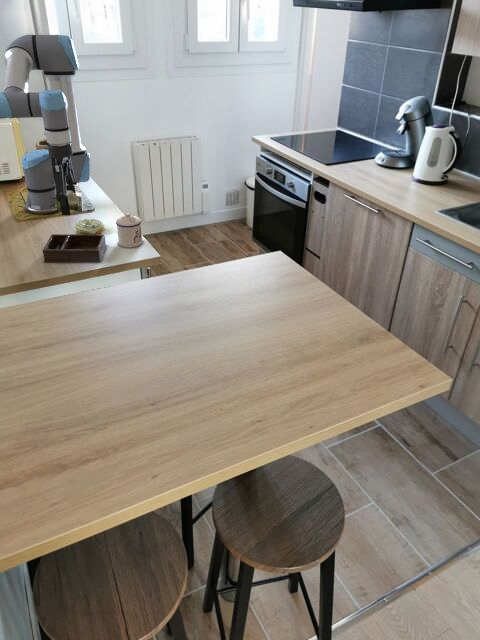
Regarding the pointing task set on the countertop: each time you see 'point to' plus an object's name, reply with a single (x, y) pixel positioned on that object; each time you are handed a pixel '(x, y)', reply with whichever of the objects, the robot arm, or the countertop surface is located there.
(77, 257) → the caddy
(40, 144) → the stone cup
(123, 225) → the teacup with lid
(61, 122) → the robot arm
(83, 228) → the decorated donut
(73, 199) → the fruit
